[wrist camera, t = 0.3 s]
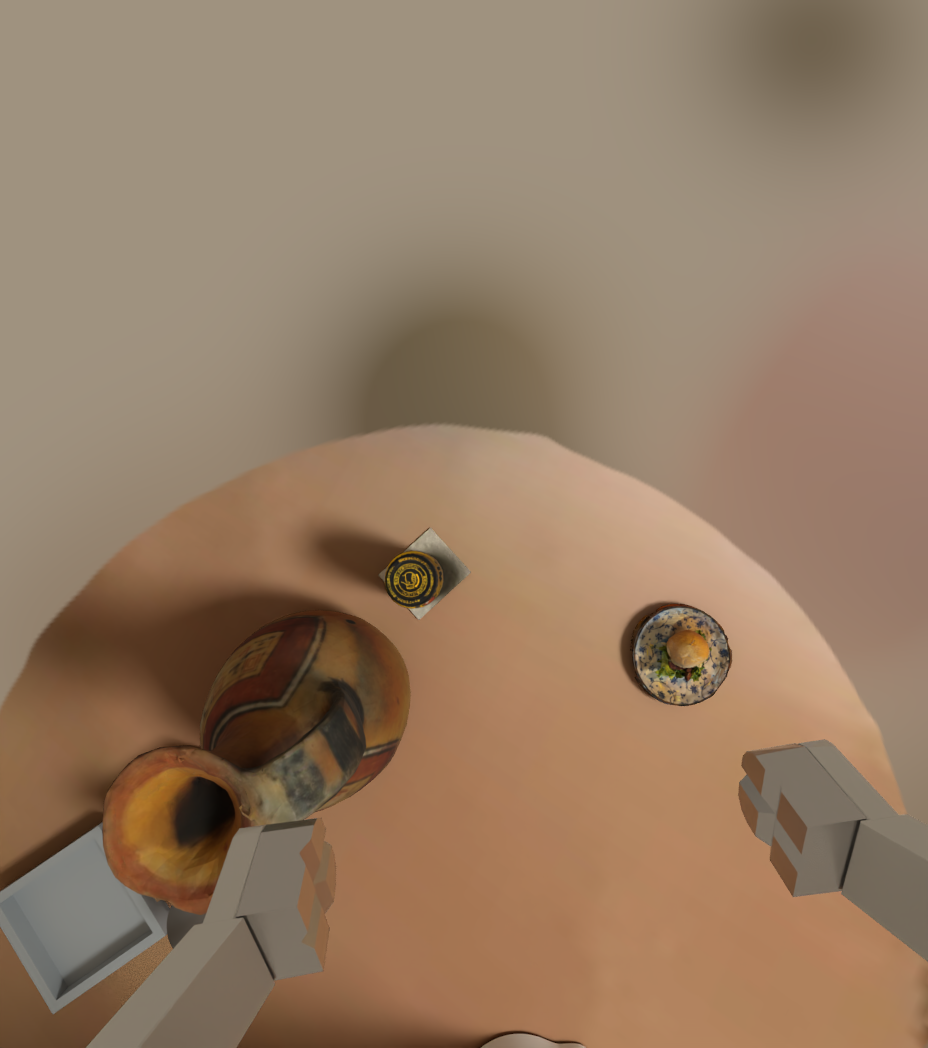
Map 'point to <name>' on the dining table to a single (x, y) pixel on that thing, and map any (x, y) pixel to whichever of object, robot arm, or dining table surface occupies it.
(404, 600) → the condiment
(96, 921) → the tray
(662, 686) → the burger
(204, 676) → the dining table surface
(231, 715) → the ceramic pitcher
